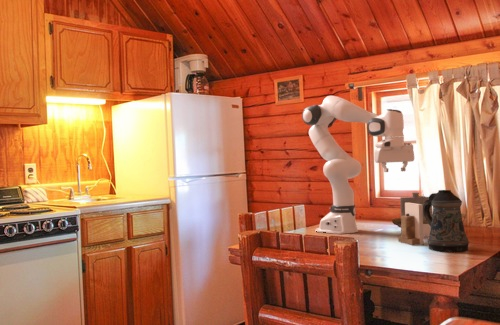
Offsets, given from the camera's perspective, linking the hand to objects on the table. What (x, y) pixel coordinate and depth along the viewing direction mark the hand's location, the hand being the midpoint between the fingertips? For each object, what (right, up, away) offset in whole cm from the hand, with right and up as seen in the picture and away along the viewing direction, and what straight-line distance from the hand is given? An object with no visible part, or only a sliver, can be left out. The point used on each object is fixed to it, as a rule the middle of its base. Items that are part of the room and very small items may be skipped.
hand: (394, 171), depth 240 cm
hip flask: (+18, -32, +23) cm, 43 cm away
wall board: (+4, -33, -11) cm, 35 cm away
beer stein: (+14, -33, -26) cm, 44 cm away
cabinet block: (+3, -30, -11) cm, 32 cm away
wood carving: (+19, -32, +7) cm, 38 cm away
